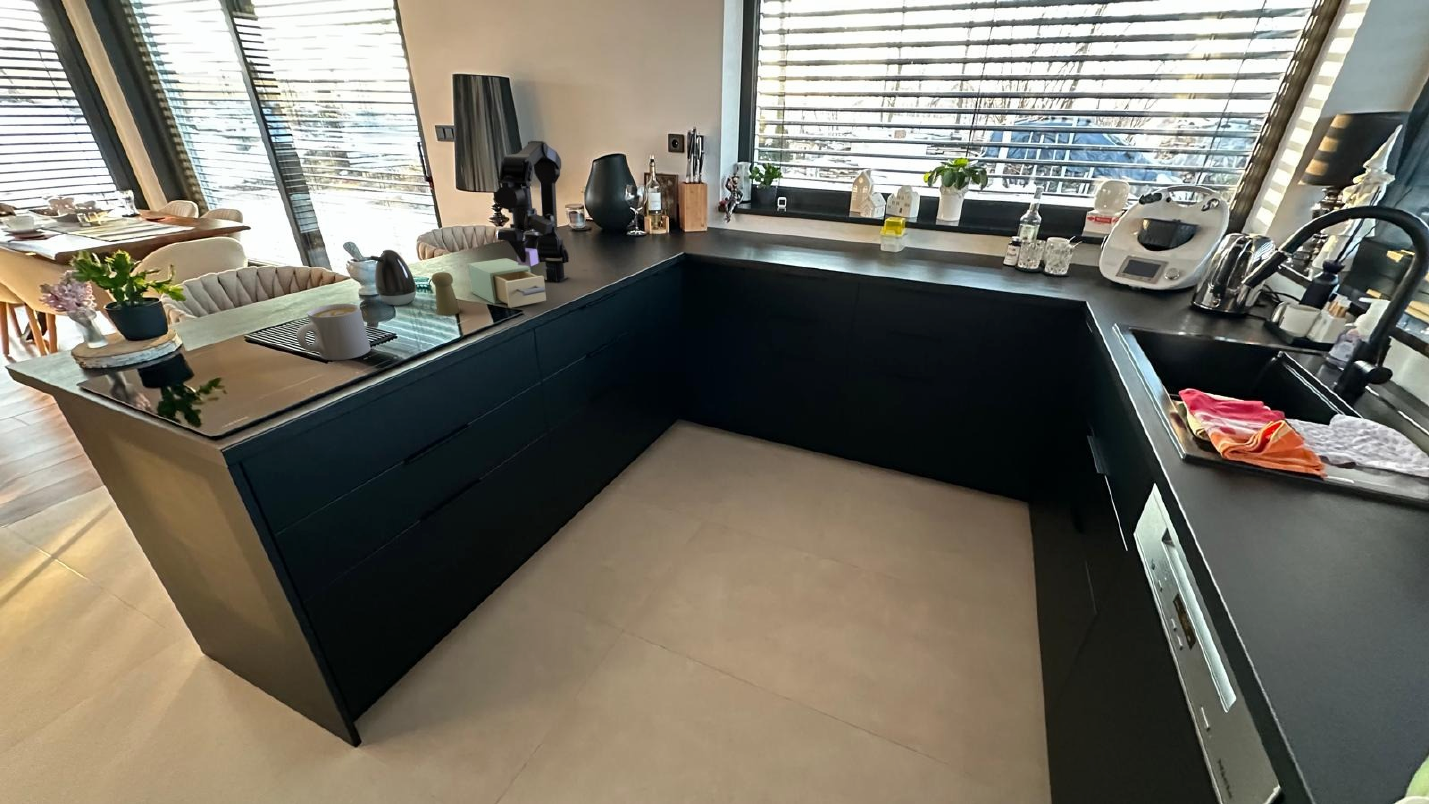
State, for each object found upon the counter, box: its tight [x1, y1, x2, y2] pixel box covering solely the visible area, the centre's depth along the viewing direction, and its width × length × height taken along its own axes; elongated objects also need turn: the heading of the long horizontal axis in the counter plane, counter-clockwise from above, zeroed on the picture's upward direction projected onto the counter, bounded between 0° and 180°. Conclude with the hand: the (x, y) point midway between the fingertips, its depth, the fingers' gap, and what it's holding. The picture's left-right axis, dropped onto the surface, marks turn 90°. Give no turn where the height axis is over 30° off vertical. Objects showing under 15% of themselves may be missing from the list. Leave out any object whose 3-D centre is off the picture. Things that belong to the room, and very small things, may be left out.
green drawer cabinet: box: [467, 257, 532, 305], centre depth 170 cm, size 15×13×9 cm
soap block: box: [516, 248, 539, 267], centre depth 163 cm, size 4×4×4 cm
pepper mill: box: [431, 271, 461, 316], centre depth 153 cm, size 6×6×11 cm
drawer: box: [493, 271, 547, 309], centre depth 163 cm, size 18×11×7 cm, turn 45°
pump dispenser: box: [369, 249, 418, 306], centre depth 157 cm, size 10×10×15 cm
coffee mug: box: [296, 303, 372, 361], centre depth 124 cm, size 13×10×10 cm
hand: (527, 260), depth 163 cm, fingers closed on soap block, 4 cm apart
